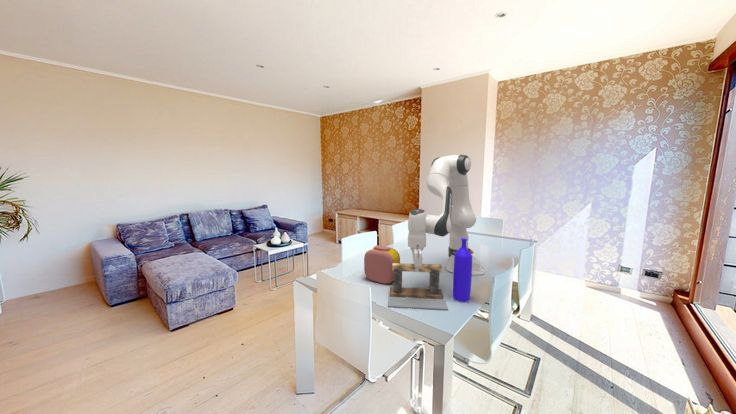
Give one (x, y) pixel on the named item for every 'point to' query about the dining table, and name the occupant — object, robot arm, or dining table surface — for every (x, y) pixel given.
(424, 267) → the rail
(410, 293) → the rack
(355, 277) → the dining table surface
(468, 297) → the bottle
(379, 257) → the alarm clock
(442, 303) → the mat
